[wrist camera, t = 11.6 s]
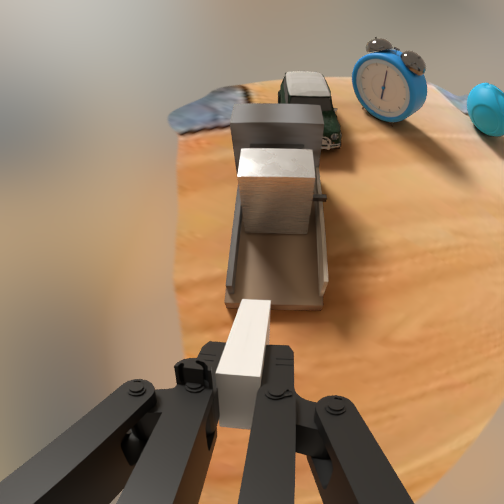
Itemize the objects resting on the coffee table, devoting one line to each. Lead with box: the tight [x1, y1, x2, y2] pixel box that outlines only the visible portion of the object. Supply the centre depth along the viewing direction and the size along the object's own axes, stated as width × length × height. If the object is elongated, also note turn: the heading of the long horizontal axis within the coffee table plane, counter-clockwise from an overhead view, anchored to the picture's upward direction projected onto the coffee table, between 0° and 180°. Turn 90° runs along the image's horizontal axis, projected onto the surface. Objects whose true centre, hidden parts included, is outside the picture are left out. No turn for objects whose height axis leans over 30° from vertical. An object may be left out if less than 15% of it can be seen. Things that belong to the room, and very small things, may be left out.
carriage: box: [237, 148, 327, 234], centre depth 32 cm, size 9×4×9 cm, turn 86°
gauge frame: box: [225, 104, 328, 311], centre depth 32 cm, size 10×20×12 cm, turn 176°
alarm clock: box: [352, 37, 427, 126], centre depth 43 cm, size 13×6×15 cm, turn 40°
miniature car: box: [278, 71, 342, 150], centre depth 45 cm, size 9×18×8 cm, turn 179°
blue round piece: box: [467, 83, 504, 137], centre depth 43 cm, size 12×11×12 cm
